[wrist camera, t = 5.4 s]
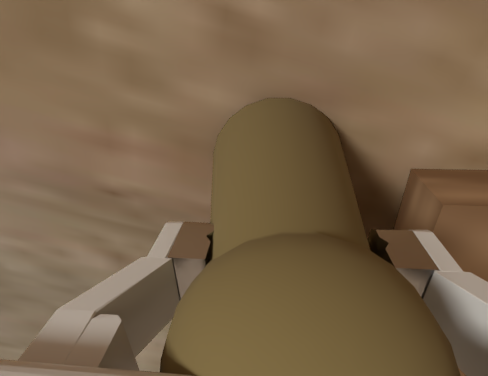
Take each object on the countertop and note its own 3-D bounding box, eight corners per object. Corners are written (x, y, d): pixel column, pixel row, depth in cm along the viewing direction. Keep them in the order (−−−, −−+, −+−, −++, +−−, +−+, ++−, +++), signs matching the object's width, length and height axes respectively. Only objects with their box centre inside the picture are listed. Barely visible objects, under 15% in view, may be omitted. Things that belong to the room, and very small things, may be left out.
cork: (369, 135, 13) (698, 473, 3) (298, 231, 16) (358, 561, 6) (247, 71, 12) (181, 287, 2) (194, 186, 14) (66, 501, 5)
